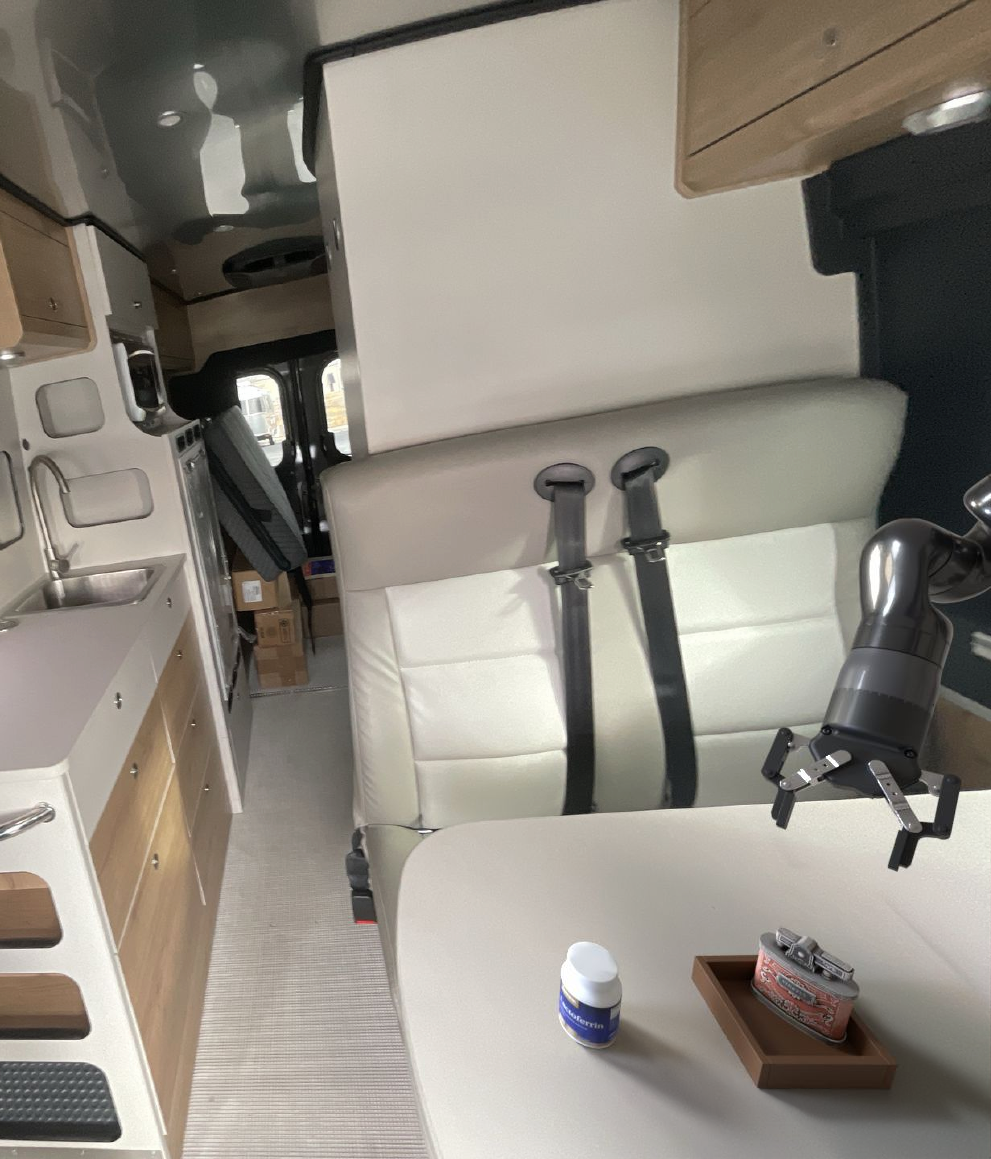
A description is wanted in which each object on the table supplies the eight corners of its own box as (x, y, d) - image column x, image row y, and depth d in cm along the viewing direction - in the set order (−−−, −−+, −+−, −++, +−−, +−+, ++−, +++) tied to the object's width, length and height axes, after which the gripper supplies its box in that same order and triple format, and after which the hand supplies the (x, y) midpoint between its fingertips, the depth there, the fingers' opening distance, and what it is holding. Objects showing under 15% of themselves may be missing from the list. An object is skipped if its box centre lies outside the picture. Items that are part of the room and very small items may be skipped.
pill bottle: (549, 1028, 73) (552, 964, 69) (569, 989, 77) (573, 927, 73) (607, 1063, 69) (613, 997, 65) (625, 1021, 73) (632, 956, 69)
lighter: (743, 991, 73) (756, 925, 69) (759, 975, 74) (773, 909, 71) (835, 1054, 66) (855, 984, 63) (851, 1035, 67) (872, 966, 64)
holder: (803, 976, 74) (809, 953, 73) (890, 1089, 63) (898, 1064, 62) (691, 978, 76) (694, 955, 74) (756, 1088, 65) (762, 1064, 64)
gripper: (790, 669, 72) (742, 809, 70) (986, 714, 61) (936, 880, 59) (797, 690, 77) (752, 821, 75) (980, 734, 66) (934, 889, 64)
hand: (834, 847), depth 67 cm, fingers open, 8 cm apart
